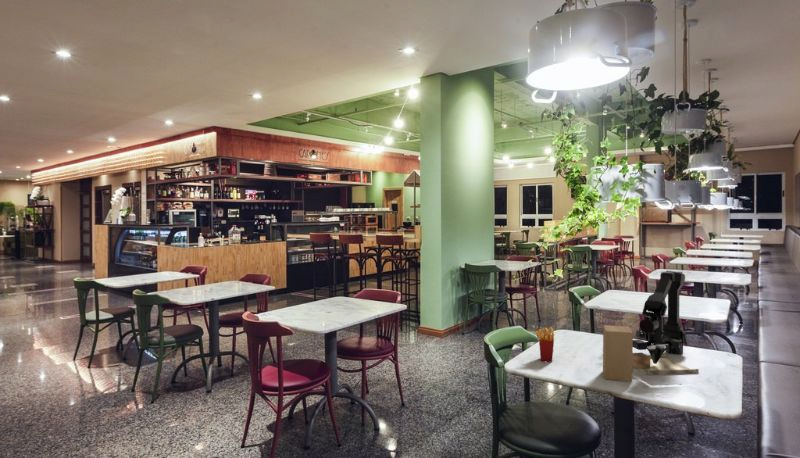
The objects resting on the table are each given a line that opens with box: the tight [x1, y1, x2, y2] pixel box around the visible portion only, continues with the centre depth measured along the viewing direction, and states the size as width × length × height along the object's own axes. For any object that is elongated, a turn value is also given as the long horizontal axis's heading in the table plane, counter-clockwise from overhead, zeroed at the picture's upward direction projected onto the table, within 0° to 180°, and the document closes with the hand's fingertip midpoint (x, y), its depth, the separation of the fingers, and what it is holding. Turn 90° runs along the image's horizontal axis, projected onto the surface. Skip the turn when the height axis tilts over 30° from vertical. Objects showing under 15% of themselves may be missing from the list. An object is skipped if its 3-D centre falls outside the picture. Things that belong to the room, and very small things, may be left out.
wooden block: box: [602, 324, 634, 383], centre depth 188 cm, size 10×10×20 cm
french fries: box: [535, 326, 555, 363], centre depth 211 cm, size 9×8×15 cm
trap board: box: [637, 353, 700, 376], centre depth 198 cm, size 22×20×2 cm
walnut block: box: [632, 352, 650, 370], centre depth 198 cm, size 6×6×5 cm
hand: (654, 363), depth 198 cm, fingers closed
